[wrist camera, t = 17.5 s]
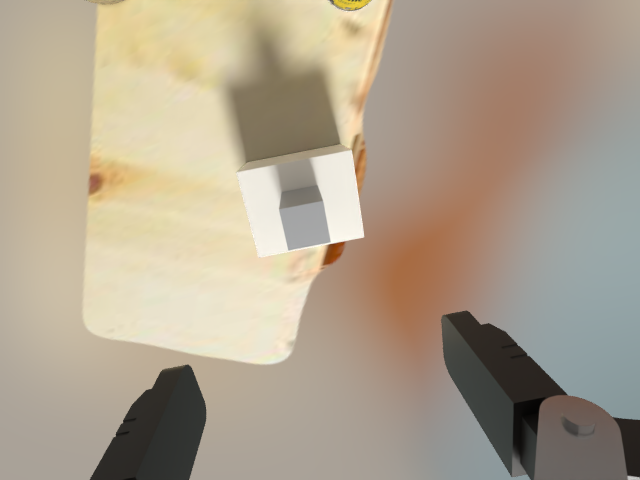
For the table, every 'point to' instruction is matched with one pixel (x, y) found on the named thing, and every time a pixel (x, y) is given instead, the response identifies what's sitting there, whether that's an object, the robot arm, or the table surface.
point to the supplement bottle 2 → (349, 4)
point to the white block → (301, 200)
